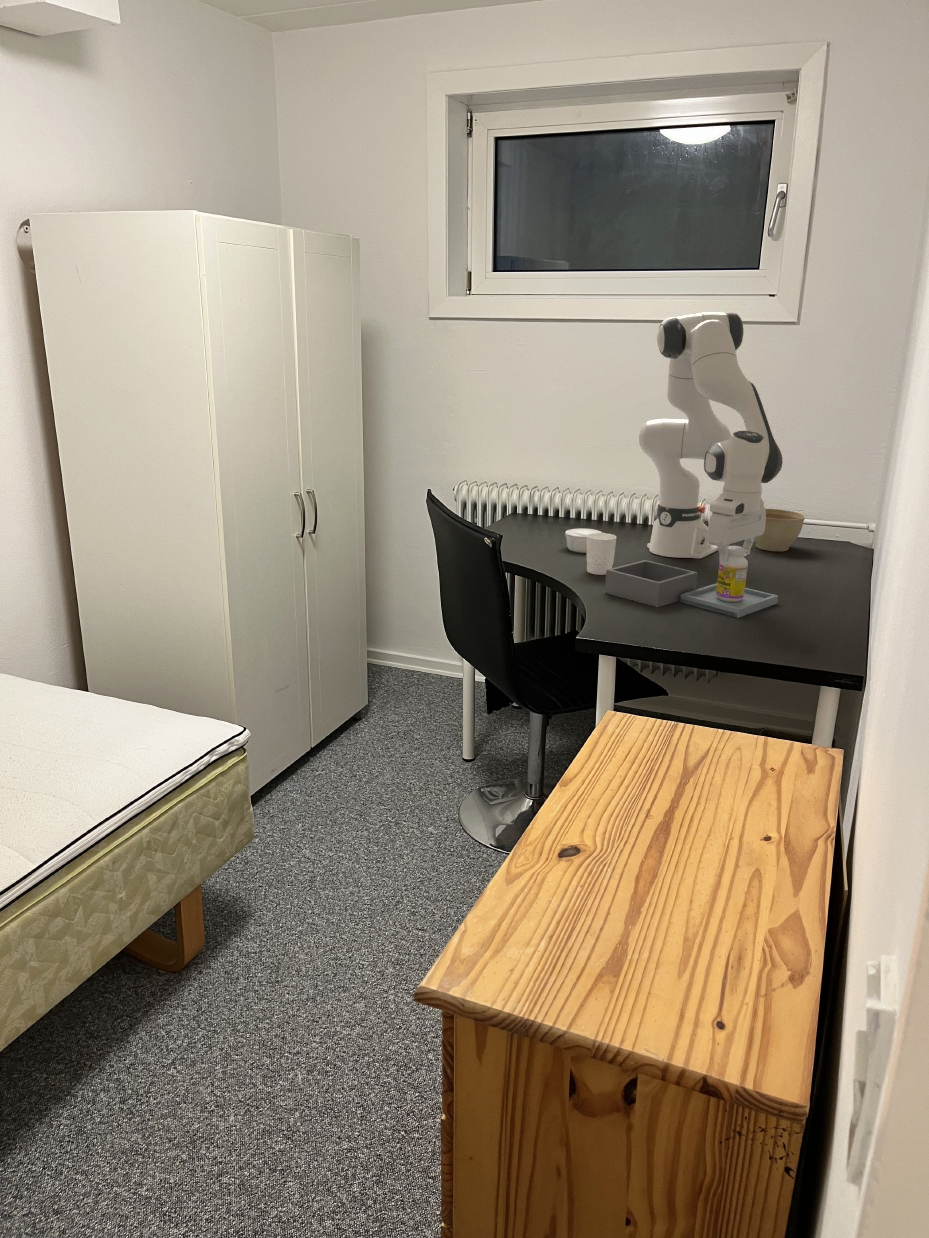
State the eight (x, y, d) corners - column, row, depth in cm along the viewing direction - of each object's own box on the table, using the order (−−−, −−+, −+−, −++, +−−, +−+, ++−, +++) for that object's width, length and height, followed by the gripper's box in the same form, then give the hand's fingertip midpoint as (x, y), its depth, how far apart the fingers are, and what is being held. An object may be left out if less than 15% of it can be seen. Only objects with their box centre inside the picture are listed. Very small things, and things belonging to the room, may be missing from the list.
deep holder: (643, 581, 240) (645, 559, 238) (695, 595, 229) (697, 572, 227) (604, 592, 229) (606, 569, 228) (657, 607, 218) (659, 583, 216)
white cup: (613, 576, 244) (615, 540, 241) (583, 574, 246) (585, 538, 243) (614, 569, 252) (617, 533, 249) (585, 567, 253) (588, 532, 250)
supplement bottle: (709, 596, 225) (715, 545, 221) (732, 594, 227) (737, 543, 223) (726, 603, 219) (732, 552, 215) (749, 601, 221) (755, 550, 217)
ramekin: (561, 552, 270) (562, 534, 268) (567, 543, 280) (568, 527, 279) (599, 555, 267) (600, 537, 266) (604, 546, 278) (605, 529, 276)
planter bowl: (774, 557, 269) (779, 521, 266) (734, 545, 282) (738, 511, 279) (811, 551, 277) (816, 516, 273) (770, 540, 290) (774, 506, 287)
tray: (720, 589, 235) (721, 581, 234) (777, 603, 223) (778, 595, 223) (680, 602, 223) (680, 594, 222) (738, 617, 212) (739, 609, 211)
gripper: (751, 494, 224) (745, 549, 229) (705, 505, 211) (699, 562, 216) (775, 498, 220) (768, 553, 225) (729, 509, 207) (723, 568, 211)
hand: (734, 558), depth 220 cm, fingers open, 8 cm apart
